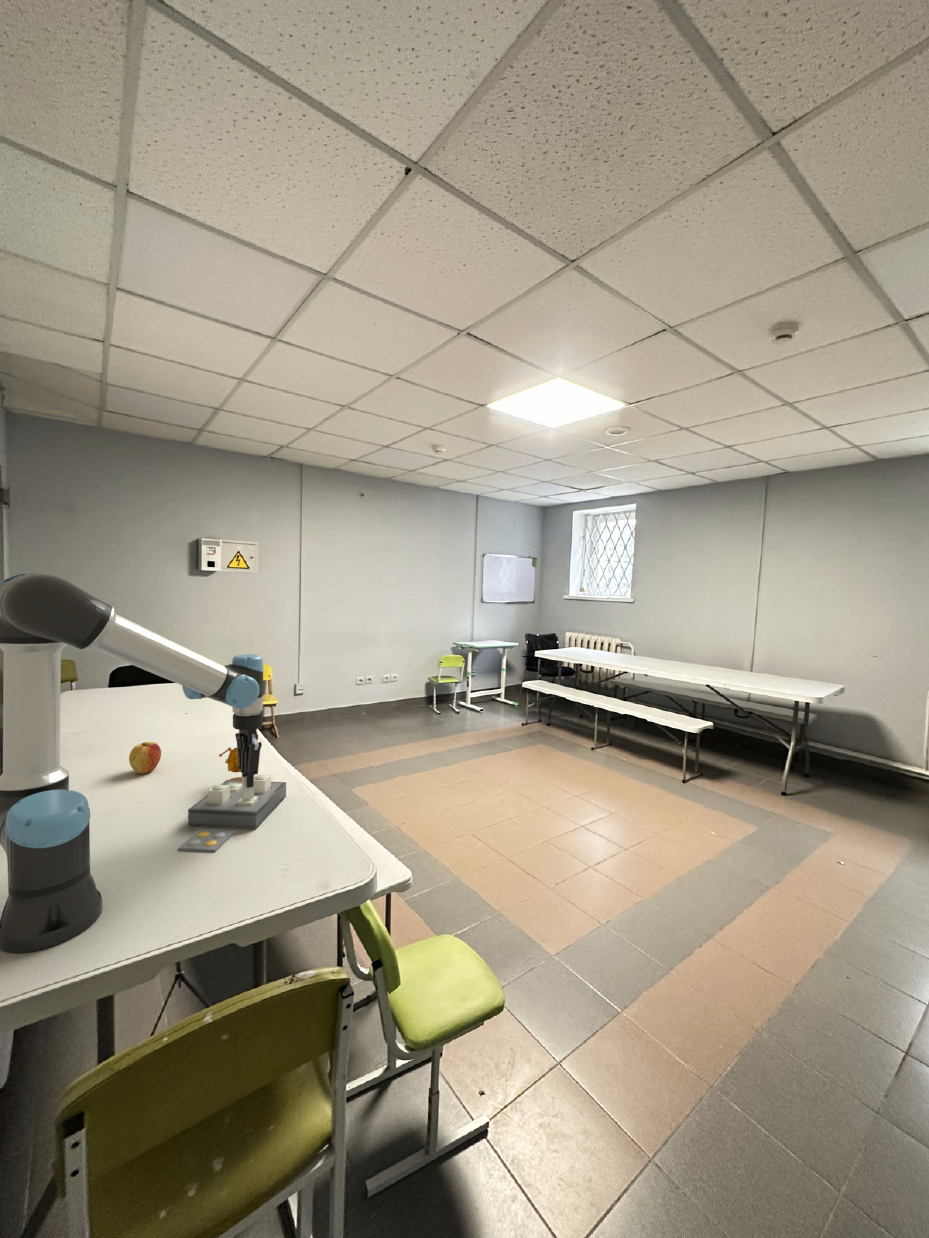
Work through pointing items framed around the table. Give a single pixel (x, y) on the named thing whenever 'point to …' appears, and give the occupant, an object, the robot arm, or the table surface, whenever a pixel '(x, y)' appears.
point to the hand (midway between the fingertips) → (248, 797)
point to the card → (206, 840)
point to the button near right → (248, 801)
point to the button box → (237, 809)
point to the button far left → (235, 787)
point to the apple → (145, 757)
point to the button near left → (219, 794)
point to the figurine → (232, 762)
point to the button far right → (262, 783)
